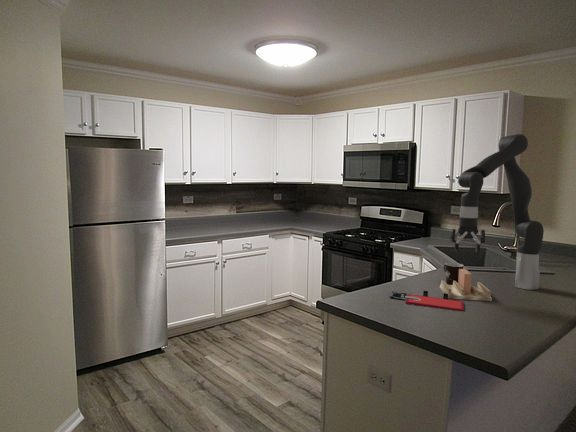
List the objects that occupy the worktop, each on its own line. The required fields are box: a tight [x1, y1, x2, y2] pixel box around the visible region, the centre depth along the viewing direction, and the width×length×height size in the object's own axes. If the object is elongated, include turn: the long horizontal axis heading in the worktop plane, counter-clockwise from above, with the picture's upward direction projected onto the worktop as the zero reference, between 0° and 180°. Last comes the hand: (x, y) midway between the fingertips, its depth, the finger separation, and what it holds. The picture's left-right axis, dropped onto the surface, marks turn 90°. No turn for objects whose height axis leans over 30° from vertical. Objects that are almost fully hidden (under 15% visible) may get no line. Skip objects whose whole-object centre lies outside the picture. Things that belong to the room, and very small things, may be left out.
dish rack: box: [439, 279, 493, 302], centre depth 181 cm, size 18×18×4 cm
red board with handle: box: [389, 290, 465, 312], centre depth 170 cm, size 30×3×15 cm
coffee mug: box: [443, 262, 465, 285], centre depth 198 cm, size 12×9×10 cm
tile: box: [458, 268, 473, 294], centre depth 181 cm, size 10×3×9 cm, turn 170°
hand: (466, 251), depth 179 cm, fingers open, 8 cm apart
